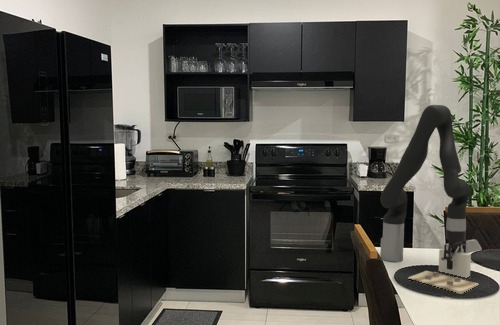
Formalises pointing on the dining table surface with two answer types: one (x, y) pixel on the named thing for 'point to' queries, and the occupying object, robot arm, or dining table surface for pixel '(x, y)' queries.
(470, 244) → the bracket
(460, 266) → the door panel
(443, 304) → the dining table surface
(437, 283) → the light brown flat board
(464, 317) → the dining table surface
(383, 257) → the robot arm
